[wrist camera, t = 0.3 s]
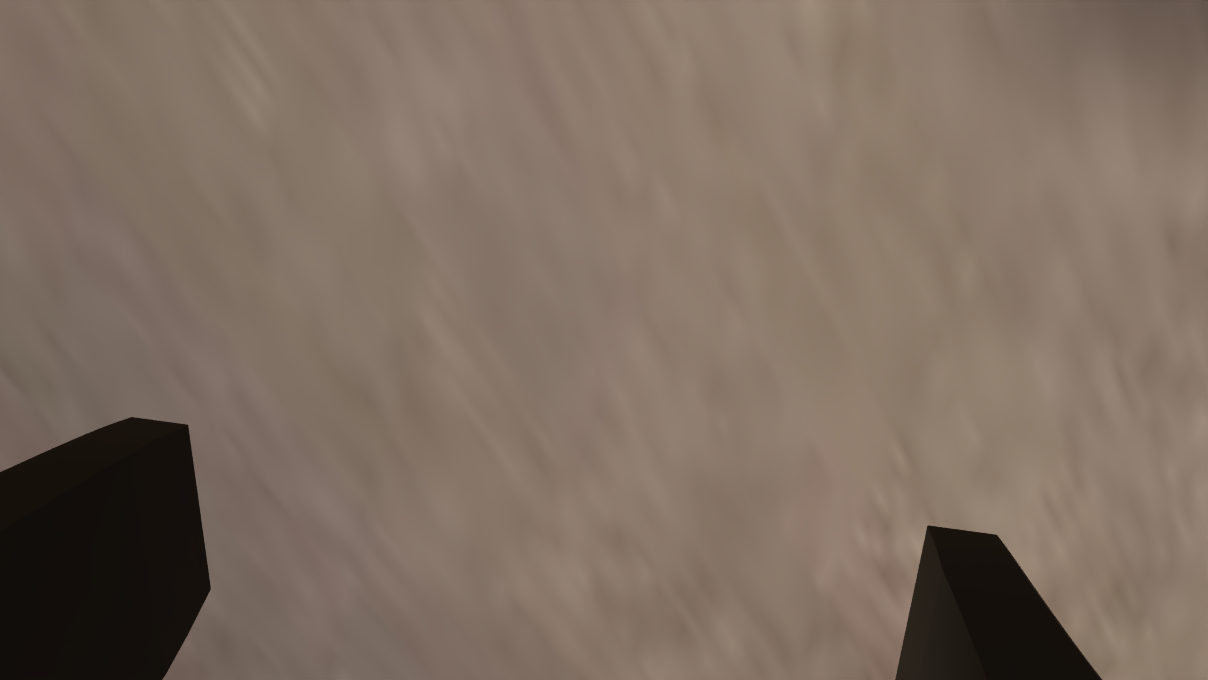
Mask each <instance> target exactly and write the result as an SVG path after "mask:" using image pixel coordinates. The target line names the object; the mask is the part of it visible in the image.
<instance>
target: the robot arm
mask: <svg viewBox="0 0 1208 680" xmlns="http://www.w3.org/2000/svg"><path fill="white" fill-rule="evenodd" d="M210 590H211V587H210V580H209V572H208V565H207V558H206V551H205V543H204V536H203V529H202V522H201V515H200V507H199V500H198V493H197V486H196V479H195V471H194V464H193V457H192V450H191V443H190V435H189V428H188V425H186V424H178V423H171V422H164V421H156V420H149V419H141V418H134V417H131V418H128V419H125V420H122V421H119V422H116V423H113V424H110V425H108V426H105V427H103V428H100V429H97V430H95V431H93V432H90V433H88V434H85V435H83V436H81V437H78V438H76V439H74V440H71V441H69V442H67V443H64V444H62V445H60V446H57V447H55V448H53V449H51V450H48V451H46V452H44V453H42V454H40V455H37V456H35V457H33V458H31V459H28V460H26V461H24V462H22V463H20V464H17V465H15V466H13V467H11V468H9V469H6V470H4V471H2V472H0V680H162V679H163V678H164V676H165V675H166V673H167V671H168V669H169V668H170V666H171V664H172V662H173V660H174V659H175V657H176V655H177V653H178V651H179V650H180V648H181V646H182V644H183V642H184V641H185V639H186V637H187V635H188V633H189V631H190V629H191V627H192V625H193V623H194V621H195V619H196V617H197V615H198V613H199V611H200V609H201V607H202V605H203V603H204V601H205V599H206V597H207V595H208V593H209V592H210ZM895 680H1102V679H1101V678H1100V676H1099V675H1098V674H1097V672H1096V671H1095V670H1094V669H1093V667H1092V666H1091V665H1090V663H1089V662H1088V661H1087V660H1086V658H1085V657H1084V655H1083V654H1082V653H1081V651H1080V650H1079V649H1078V647H1077V646H1076V645H1075V643H1074V642H1073V641H1072V639H1071V638H1070V637H1069V635H1068V634H1067V632H1066V631H1065V630H1064V628H1063V627H1062V626H1061V624H1060V623H1059V621H1058V620H1057V619H1056V617H1055V616H1054V614H1053V613H1052V612H1051V610H1050V609H1049V607H1048V606H1047V605H1046V603H1045V602H1044V600H1043V599H1042V597H1041V596H1040V595H1039V593H1038V592H1037V590H1036V589H1035V588H1034V586H1033V585H1032V583H1031V582H1030V580H1029V579H1028V577H1027V576H1026V575H1025V573H1024V572H1023V570H1022V569H1021V567H1020V566H1019V564H1018V563H1017V562H1016V560H1015V559H1014V557H1013V556H1012V555H1011V553H1010V552H1009V550H1008V549H1007V548H1006V546H1005V545H1004V544H1003V542H1002V541H1001V540H1000V538H999V537H998V536H997V535H994V534H987V533H980V532H972V531H965V530H958V529H950V528H943V527H936V526H927V531H926V536H925V540H924V545H923V550H922V555H921V560H920V564H919V569H918V574H917V579H916V583H915V588H914V593H913V598H912V603H911V607H910V612H909V617H908V622H907V627H906V631H905V636H904V641H903V646H902V651H901V655H900V660H899V665H898V670H897V674H896V679H895Z"/></svg>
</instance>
